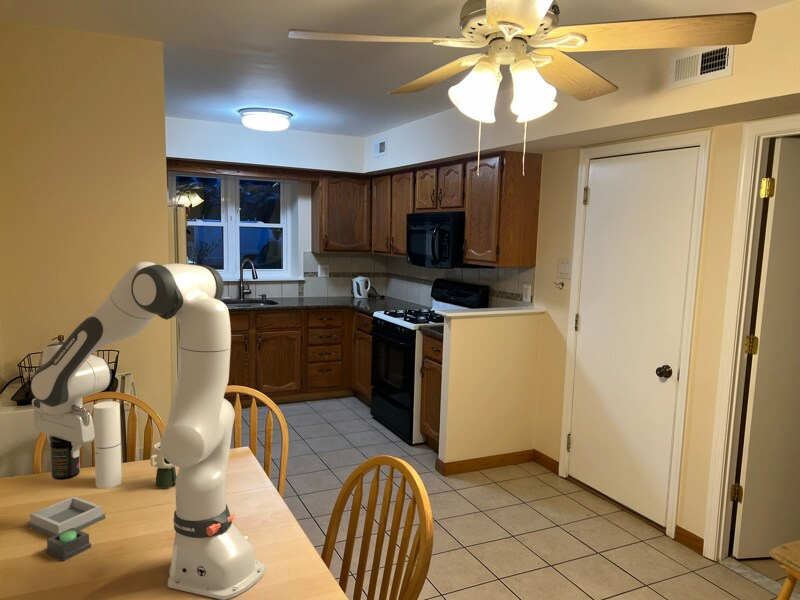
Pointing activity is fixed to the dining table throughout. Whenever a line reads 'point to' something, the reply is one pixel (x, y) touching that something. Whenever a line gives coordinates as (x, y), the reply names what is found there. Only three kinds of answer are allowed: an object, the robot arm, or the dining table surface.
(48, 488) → the dining table surface
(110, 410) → the cylindrical container
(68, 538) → the button
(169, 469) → the character mug
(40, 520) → the square shallow tray
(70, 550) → the button housing
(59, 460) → the supplement container
